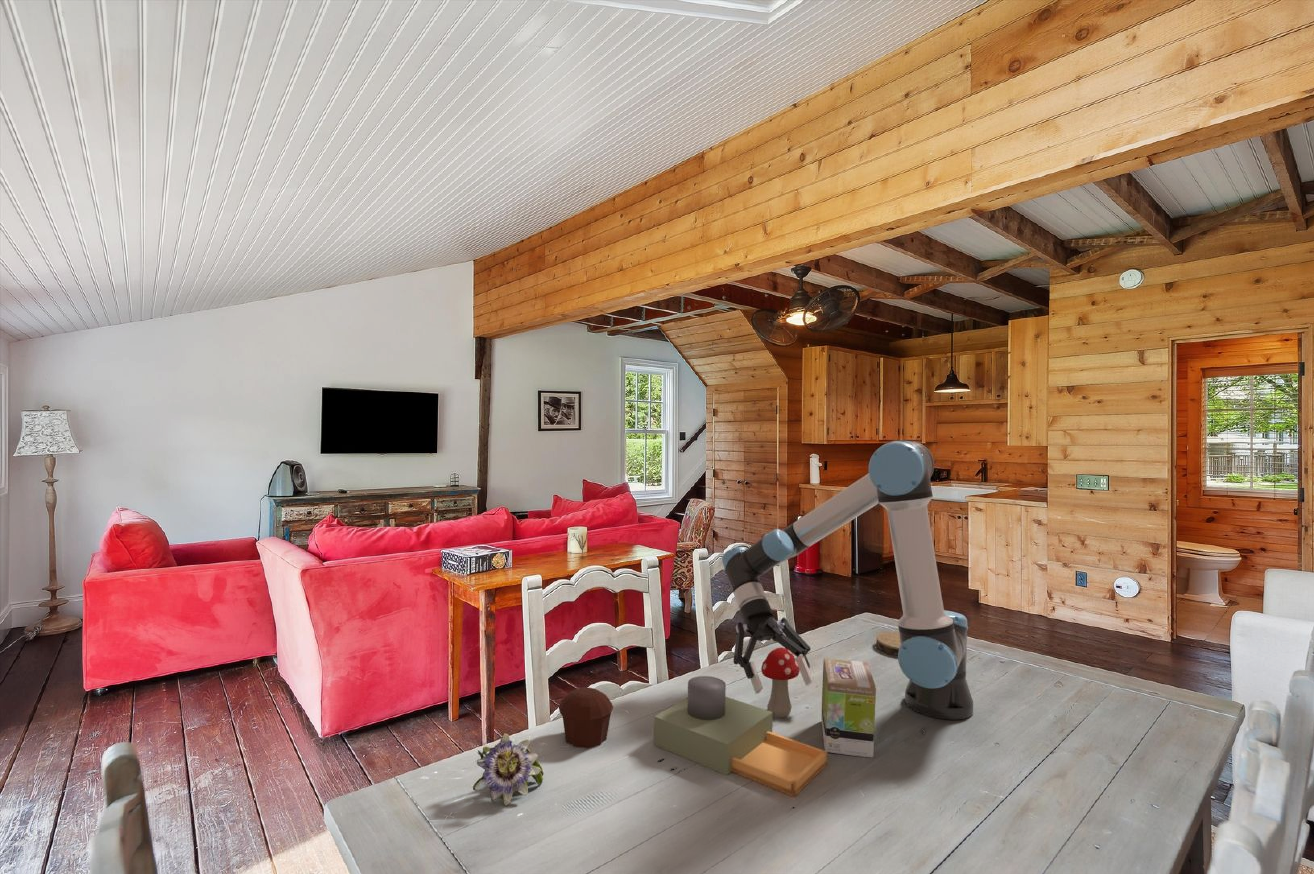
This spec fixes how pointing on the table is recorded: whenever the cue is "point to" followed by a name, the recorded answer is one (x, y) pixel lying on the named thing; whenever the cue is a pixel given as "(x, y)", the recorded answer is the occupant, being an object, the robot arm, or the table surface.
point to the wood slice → (889, 643)
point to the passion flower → (508, 769)
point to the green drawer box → (735, 738)
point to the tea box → (848, 707)
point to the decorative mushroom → (780, 679)
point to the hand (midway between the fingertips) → (785, 687)
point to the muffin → (586, 717)
